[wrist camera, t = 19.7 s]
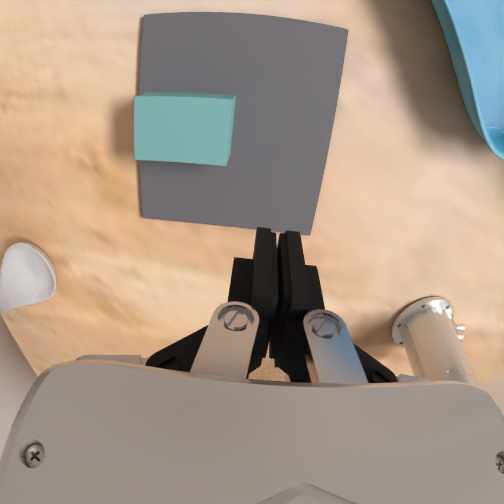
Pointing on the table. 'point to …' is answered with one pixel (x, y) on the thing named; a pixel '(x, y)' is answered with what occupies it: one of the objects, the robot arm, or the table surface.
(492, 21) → the casserole dish
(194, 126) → the teal rectangular block
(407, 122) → the table surface
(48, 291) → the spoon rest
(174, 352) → the robot arm
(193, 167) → the mat
